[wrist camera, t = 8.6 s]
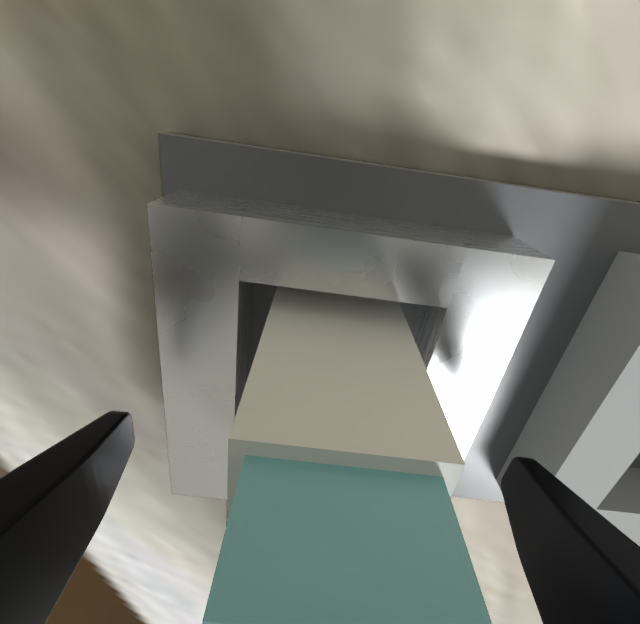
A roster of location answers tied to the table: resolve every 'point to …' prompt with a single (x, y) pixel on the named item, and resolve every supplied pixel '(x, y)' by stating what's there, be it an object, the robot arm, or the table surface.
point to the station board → (444, 210)
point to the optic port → (325, 276)
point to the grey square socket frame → (596, 404)
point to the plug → (341, 477)
